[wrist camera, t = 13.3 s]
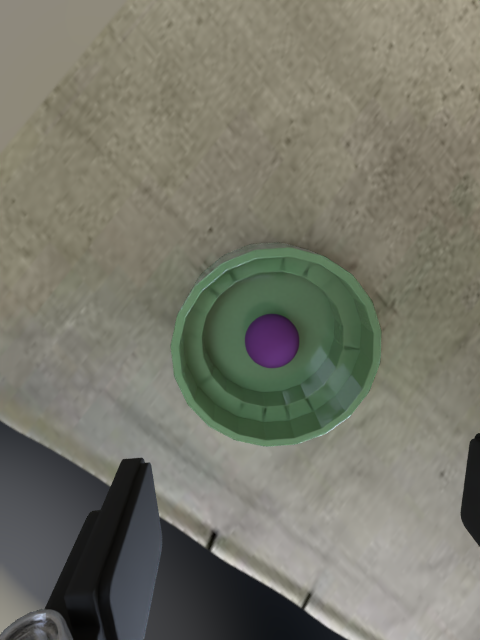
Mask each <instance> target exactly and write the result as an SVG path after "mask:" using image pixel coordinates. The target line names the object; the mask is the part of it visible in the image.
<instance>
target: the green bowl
mask: <svg viewBox="0 0 480 640" xmlns="http://www.w3.org/2000/svg"><path fill="white" fill-rule="evenodd" d="M266 314H278V315H282V316H284V317H286V318H288V319H289V320H290V321H291V322H292V323H293V324H294V325H295V327H296V329H297V331H298V334H299V349H298V351H297V353H296V355H295V357H294V358H293V359H292V360H291V361H290V362H289V363H288V364H286V365H284V366H282V367H279V368H266V367H262V366H260V365H258V364H257V363H255V362H254V361H253V360H252V359H251V358H250V356H249V355H248V353H247V351H246V347H245V335H246V331H247V329H248V327H249V326H250V324H251V323H252V322H253V321H254V320H255V319H257V318H258V317H260V316H262V315H266ZM171 354H172V362H173V370H174V377H175V379H176V381H177V383H178V386H179V388H180V390H181V392H182V394H183V396H184V398H185V400H186V402H187V404H188V405H189V406H190V407H191V408H192V409H193V410H194V411H195V412H196V414H197V415H198V416H199V417H200V418H201V419H202V420H203V421H204V422H205V423H206V424H207V425H208V426H209V427H211V428H213V429H215V430H217V431H219V432H221V433H222V434H224V435H226V436H228V437H230V438H232V439H234V440H236V441H241V442H246V443H250V444H255V445H260V446H266V447H267V446H281V445H295V444H298V443H301V442H304V441H307V440H310V439H312V438H315V437H318V436H321V435H324V434H326V433H327V432H329V431H330V430H331V429H333V428H334V427H336V426H337V425H338V424H340V423H341V422H343V421H344V420H345V419H347V418H348V417H349V416H350V415H351V414H352V413H353V412H354V411H355V409H356V408H357V407H358V405H359V404H360V403H361V402H362V400H363V399H364V398H365V396H366V395H367V394H368V393H369V391H370V388H371V386H372V383H373V381H374V378H375V375H376V373H377V370H378V367H379V365H380V356H381V328H380V325H379V322H378V318H377V315H376V312H375V309H374V305H373V302H372V300H371V299H370V297H369V296H368V295H367V293H366V292H365V291H364V289H363V288H362V287H361V285H360V284H359V283H358V281H357V280H356V279H355V277H354V276H353V275H352V274H351V273H349V272H348V271H346V270H345V269H343V268H342V267H340V266H339V265H337V264H336V263H334V262H333V261H331V260H330V259H328V258H327V257H325V256H323V255H320V254H318V253H316V252H313V251H311V250H308V249H305V248H301V247H297V246H294V245H290V244H286V243H282V242H281V243H280V242H274V243H259V244H249V245H247V246H245V247H242V248H240V249H237V250H235V251H232V252H230V253H227V254H225V255H223V256H222V257H220V258H219V259H218V260H217V261H216V262H214V263H213V264H212V265H211V266H210V267H209V268H207V269H206V270H205V271H204V272H203V273H202V274H201V275H200V276H199V278H198V279H197V281H196V283H195V284H194V286H193V288H192V289H191V291H190V293H189V294H188V296H187V298H186V299H185V301H184V303H183V305H182V307H181V309H180V311H179V313H178V315H177V319H176V323H175V328H174V332H173V337H172V342H171Z"/></svg>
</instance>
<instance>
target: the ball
mask: <svg viewBox="0 0 480 640" xmlns="http://www.w3.org/2000/svg"><path fill="white" fill-rule="evenodd" d="M245 347H246V351H247V353H248V355H249V356H250V358H251V359H252V360H253V361H254V362H255V363H257V364H258V365H260V366H262V367H266V368H279V367H282V366H284V365H286V364H288V363H289V362H290V361H291V360H292V359H293V358H294V357H295V355H296V353H297V351H298V349H299V334H298V331H297V329H296V327H295V325H294V324H293V323H292V322H291V321H290V320H289V319H288V318H286V317H284V316H282V315H278V314H266V315H262V316H260V317H258V318H257V319H255V320H254V321H253V322H252V323H251V324H250V326H249V327H248V329H247V331H246V335H245Z"/></svg>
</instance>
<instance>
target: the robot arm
mask: <svg viewBox="0 0 480 640" xmlns="http://www.w3.org/2000/svg"><path fill="white" fill-rule="evenodd" d="M461 519H462V522H463V524H464V526H465V528H466V529H467V530H468V532H469V533H470V534H471V536H472V537H473V538H474V540H475V541H476V542H477V544H478V545H479V547H480V433H478V434H476V436H475V438H474V439H472V440H471V441H470V444H469V452H468V460H467V468H466V475H465V483H464V491H463V498H462V506H461ZM161 550H162V532H161V525H160V519H159V513H158V506H157V500H156V493H155V487H154V481H153V474H152V468H151V464H150V463H145V462H144V459H143V458H133V459H123V460H122V461H121V463H120V466H119V468H118V470H117V473H116V475H115V478H114V480H113V482H112V485H111V487H110V489H109V492H108V494H107V496H106V499H105V501H104V503H103V506H102V508H101V510H98V511H92V512H90V513H89V515H88V516H87V518H86V520H85V523H84V525H83V527H82V529H81V531H80V534H79V535H78V538H77V540H76V542H75V544H74V546H73V549H72V551H71V553H70V555H69V557H68V559H67V562H66V564H65V566H64V568H63V571H62V572H61V575H60V577H59V579H58V581H57V583H56V586H55V588H54V590H53V592H52V594H51V596H50V599H49V601H48V603H47V605H46V607H45V609H41V610H37V611H34V612H30V613H28V614H27V615H25V616H23V617H21V618H19V619H17V620H16V621H15V622H13V623H12V624H11V625H10V626H8V627H7V628H6V629H5V630H4V631H3V632H2V633H1V634H0V640H144V636H145V631H146V626H147V621H148V616H149V611H150V606H151V601H152V596H153V591H154V585H155V581H156V576H157V570H158V566H159V560H160V556H161Z"/></svg>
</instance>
